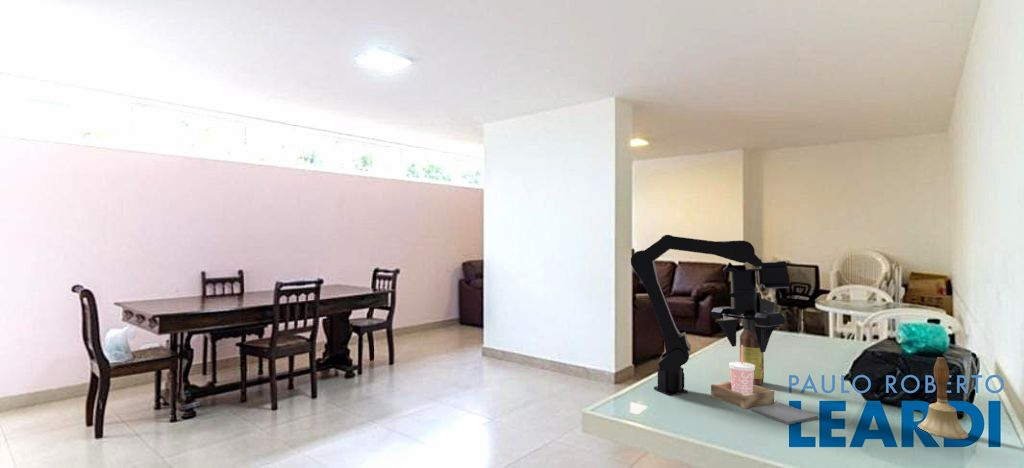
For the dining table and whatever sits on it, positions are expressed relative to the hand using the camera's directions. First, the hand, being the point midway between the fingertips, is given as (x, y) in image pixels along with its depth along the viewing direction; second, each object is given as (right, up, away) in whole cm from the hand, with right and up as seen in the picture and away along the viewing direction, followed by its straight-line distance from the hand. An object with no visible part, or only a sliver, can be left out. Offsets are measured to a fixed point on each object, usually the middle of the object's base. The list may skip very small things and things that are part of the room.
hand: (748, 349), depth 130 cm
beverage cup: (-2, -13, 0) cm, 13 cm away
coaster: (+3, -13, -11) cm, 17 cm away
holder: (-2, -13, 0) cm, 13 cm away
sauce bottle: (+8, -13, +15) cm, 21 cm away
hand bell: (+32, -13, -22) cm, 41 cm away
